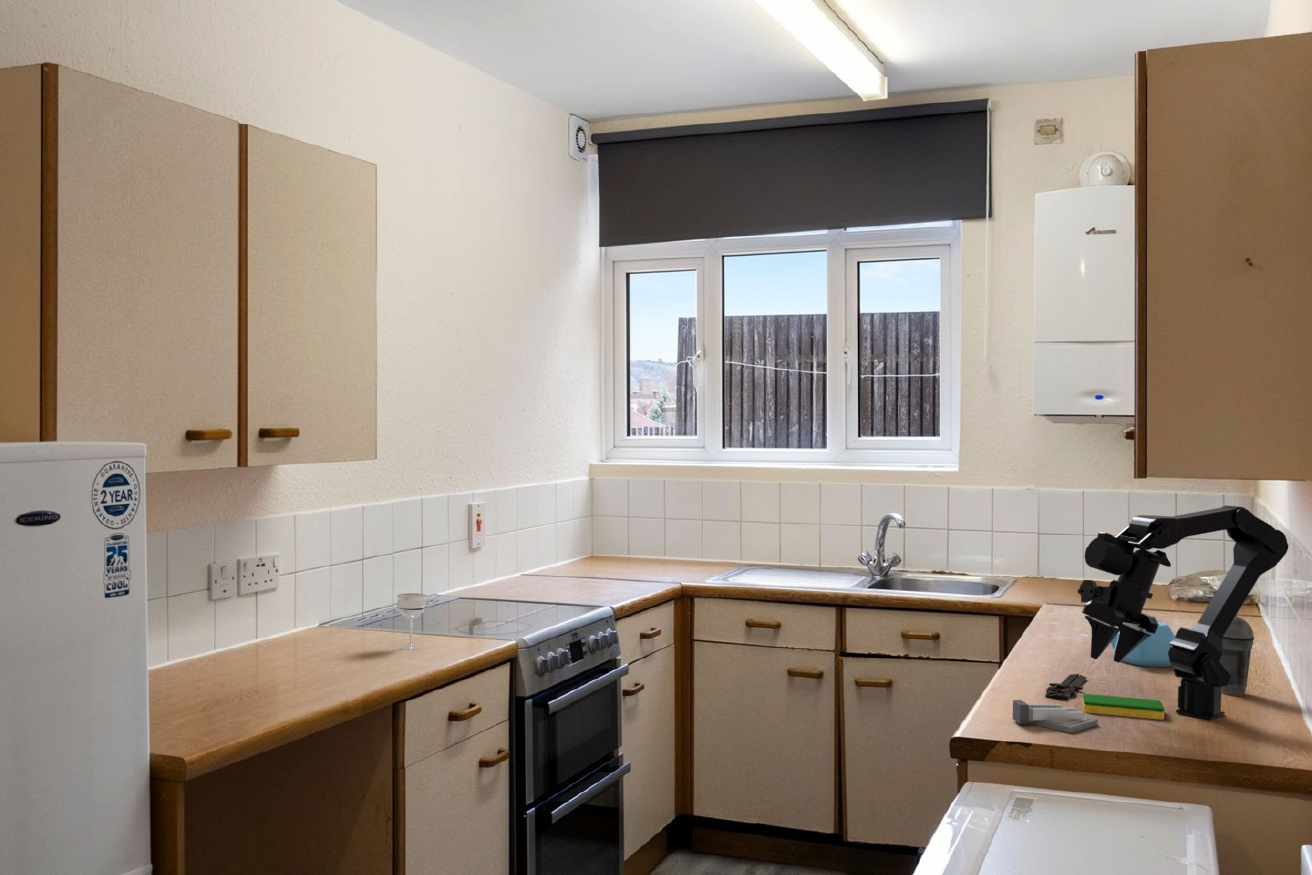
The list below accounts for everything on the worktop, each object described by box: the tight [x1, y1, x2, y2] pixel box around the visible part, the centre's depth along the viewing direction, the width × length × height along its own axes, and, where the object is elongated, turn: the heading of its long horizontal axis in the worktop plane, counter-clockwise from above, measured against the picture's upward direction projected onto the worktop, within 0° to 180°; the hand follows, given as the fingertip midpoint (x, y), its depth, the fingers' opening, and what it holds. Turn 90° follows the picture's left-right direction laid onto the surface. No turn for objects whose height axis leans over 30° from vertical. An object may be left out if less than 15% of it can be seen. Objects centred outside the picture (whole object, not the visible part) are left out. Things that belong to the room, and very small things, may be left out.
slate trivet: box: [1028, 715, 1099, 734], centre depth 204 cm, size 9×9×1 cm
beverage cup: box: [1220, 614, 1255, 697], centre depth 230 cm, size 7×7×20 cm
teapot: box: [1110, 614, 1176, 668], centre depth 260 cm, size 15×15×11 cm
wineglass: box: [395, 592, 427, 651], centre depth 260 cm, size 7×7×12 cm
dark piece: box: [1044, 673, 1087, 701], centre depth 233 cm, size 25×6×1 cm, turn 144°
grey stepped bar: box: [1012, 699, 1084, 725], centre depth 203 cm, size 4×4×12 cm
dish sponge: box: [1082, 693, 1165, 720], centre depth 214 cm, size 7×14×2 cm, turn 71°
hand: (1105, 660), depth 210 cm, fingers open, 9 cm apart
